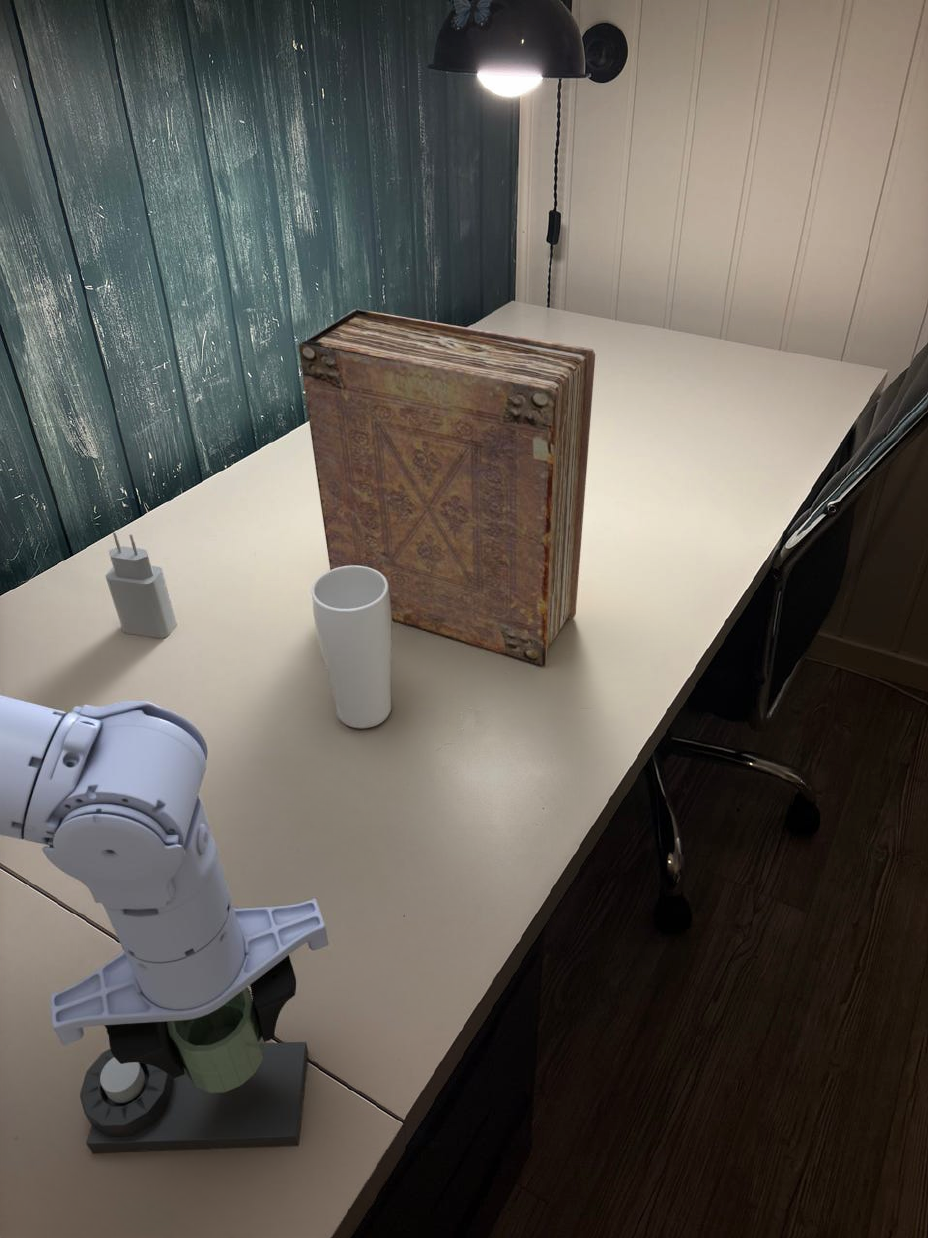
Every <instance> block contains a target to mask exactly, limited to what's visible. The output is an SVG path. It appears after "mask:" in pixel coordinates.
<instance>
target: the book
mask: <svg viewBox="0 0 928 1238" xmlns="http://www.w3.org/2000/svg"><path fill="white" fill-rule="evenodd" d="M298 349H299V350H298V351H299V352H298V353H299V358H300V365H301V372H302V378H303V379H302V380H303V387H304V393H305V394H304V395H305V401H306V406H307V407H306V409H307V416H308V421H309V429H310V436H311V444H312V451H313V456H314V457H313V459H314V465H315V473H316V479H317V486H318V494H319V499H320V506H321V507H320V509H321V514H322V515H321V516H322V522H323V529H324V536H325V544H326V550H327V558H328V563H329V564H328V565H329V570H332V569H335V568H338V567H342V566H352V565H357V566H365V567H369V568H372V569H375V570H377V571H379V572H380V573H381V574H382V575H383V576H384V577H385V578H386V580H387V582H388V588H389V595H390V602H391V613H392V622H397V623H400V624H402V625H406V626H410V627H412V628H416V629H419V630H422V631H425V632H428V633H432V634H434V635H438V636H441V637H444V638H446V639H451V640H453V641H457V642H460V643H463V644H465V645H469V646H473V647H475V648H479V649H482V650H485V651H487V652H492V653H493V654H494V653H495V654H497V655H501V656H504V657H507V658H510V659H513V660H516V661H520V662H523V663H526V664H529V665H533V666H535V667H538V668H544V667H545V666H546V665H547V663H548V648H549V647H550V645H551V644H552V643H553V641H554V639H555V638H556V637H557V635H558V633H559V631H560V630H561V629H562V627H563V626H564V624H565V622H566V621H567V620H568V619H573V618H574V617H576V614H577V602H578V591H579V577H580V576H579V575H580V563H581V551H582V549H581V548H582V536H583V523H584V512H585V511H584V510H585V509H584V508H585V498H586V497H585V496H586V485H587V483H586V482H587V471H588V458H589V446H590V445H589V444H590V431H591V417H592V405H593V392H594V379H595V364H596V353H595V351H594V348H589V347H582V346H576V345H571V344H565V343H559V342H552V341H549V340H541V339H535V338H530V337H524V336H518V335H512V334H506V333H500V332H494V331H488V330H482V329H476V328H471V327H465V326H458V325H454V324H453V325H452V324H447V323H442V322H435V321H429V320H423V319H417V318H412V317H406V316H400V315H394V314H387V313H382V312H376V311H370V310H364V309H359V308H355V309H353V310H351V311H350V312H348V313H347V314H345V315H343V316H342V317H340V318H339V319H337V320H336V321H334V322H333V323H331V324H329V325H328V326H326V327H324V328H323V329H322V330H320V331H318V332H317V333H315V334H313V335H312V336H310V337H309V338H307V339H306V340H304V341H302V342H301V343H300V344H298Z"/></svg>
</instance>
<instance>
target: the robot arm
mask: <svg viewBox="0 0 928 1238" xmlns="http://www.w3.org/2000/svg"><path fill="white" fill-rule="evenodd" d="M208 751H209V750H208V745H207V743H206V740H205V738H204V736H203V734H202V733H201V732H200V730H199V729H198V728H197V727H196V726H195V725H194V724H193V723H192V722H191V721H189V720H188V719H186V718H185V717H184V716H182V715H180V714H178V713H176V712H174V711H172V710H169V709H167V708H164V707H160V706H158V705H156V704H154V703H151V702H150V701H143V700H126V701H119V702H114V703H111V704H107V705H103V706H95V705H94V706H93V705H89V704H83V705H82V706H78V705H75V706H74V707H73V708H72V710H71V711H70V712H67V711H63V710H59V709H55V708H52V707H48V706H44V705H40V704H36V703H33V702H28V701H25V700H21V699H16V698H12V697H8V696H5V695H1V694H0V836H4V837H9V838H14V839H18V840H22V841H23V840H24V841H27V842H32V843H36V844H40V845H45V846H43V847H42V848H41V850H42V852H43V854H44V855H45V857H46V858H47V859H48V860H49V861H50V863H51V864H52V865H54V866H55V867H56V868H57V869H58V870H59V871H61V872H63V873H64V874H66V875H67V876H68V877H71V878H73V879H75V880H77V881H79V882H80V883H82V884H83V885H84V886H86V888H87V889H88V890H89V892H90V894H91V896H92V898H93V901H94V902H95V903H96V904H102V906H103V908H104V910H105V912H106V914H107V917H108V919H109V921H110V924H111V926H112V927H113V930H114V932H115V935H116V937H117V939H118V941H119V943H120V947H121V948H122V952H121V953H119V954H118V955H116V956H115V957H113V958H112V959H111V960H109V961H108V962H106V963H104V964H103V965H102V966H100V967H98V968H97V969H95V970H94V971H93V972H92V973H89V974H88V975H87V976H85V977H83V979H81V980H79V981H78V982H76V983H74V984H73V985H70V986H69V987H66V988H64V989H62V990H60V991H57V992H54V993H52V994H50V995H49V1004H50V1017H51V1028H52V1030H53V1031H54V1033H55V1035H56V1036H57V1039H58V1040H59V1042H60V1043H61V1045H62V1046H67V1045H70V1044H73V1043H75V1042H77V1041H80V1040H81V1039H83V1037H84V1036H85V1031H84V1028H88V1027H96V1026H97V1027H98V1026H99V1027H100V1026H104V1027H105V1029H106V1033H107V1036H108V1043H109V1049H111V1053H112V1054H113V1056H114V1057H115V1058H116V1060H117V1061H118V1062H119V1063H120V1064H124V1063H131V1062H138V1063H145V1064H149V1065H152V1066H155V1067H157V1068H159V1069H161V1070H163V1071H164V1072H166V1073H167V1074H169V1075H170V1076H171V1077H173V1078H177V1077H180V1076H182V1075H185V1072H184V1067H183V1065H182V1062H181V1060H180V1058H179V1056H178V1054H177V1051H176V1049H175V1047H174V1045H173V1042H172V1040H171V1038H170V1035H169V1032H168V1026H167V1021H179V1020H189V1019H195V1018H199V1017H202V1016H204V1015H207V1014H209V1013H211V1012H213V1011H215V1010H217V1009H218V1008H220V1007H221V1006H223V1005H224V1004H226V1003H227V1002H228V1001H229V1000H231V999H232V998H233V997H235V996H236V995H237V994H239V993H240V992H241V991H243V990H244V989H245V988H246V987H248V988H249V987H250V994H251V997H252V1000H253V1003H254V1007H255V1010H256V1014H257V1017H258V1021H259V1026H260V1030H261V1034H262V1038H263V1041H264V1042H265V1043H267V1042H269V1041H271V1040H274V1039H275V1038H276V1027H277V1023H278V1020H279V1016H280V1014H281V1011H282V1010H283V1008H284V1006H285V1005H286V1004H287V1003H288V1002H289V1000H291V999H292V998H293V997H295V995H296V991H297V978H296V974H295V971H294V968H293V964H292V961H291V957H290V955H291V954H292V953H294V952H295V951H296V950H298V949H300V947H302V946H304V945H305V944H307V945H308V949H310V950H311V951H316V950H320V949H322V948H325V947H327V946H329V943H330V942H329V938H328V934H327V933H328V932H327V927H326V923H325V921H324V918H323V915H322V912H321V910H320V907H319V904H318V902H317V901H318V900H317V899H316V898H313V899H310V900H307V901H304V902H300V903H296V904H288V905H280V906H279V905H278V906H277V905H276V906H263V907H245V908H235V907H234V904H233V900H232V897H231V894H230V890H229V886H228V883H227V880H226V876H225V873H224V870H223V866H222V863H221V860H220V856H219V853H218V849H217V845H216V843H215V840H214V837H213V836H214V835H213V834H212V831H211V828H210V824H209V821H208V819H207V813H206V811H205V807H204V804H203V801H202V799H201V797H200V796H199V794H200V792H201V791H200V790H201V787H202V784H203V779H204V777H205V772H206V769H207V760H208V754H209V753H208Z"/></svg>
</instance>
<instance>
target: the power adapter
mask: <svg viewBox="0 0 928 1238" xmlns="http://www.w3.org/2000/svg"><path fill="white" fill-rule="evenodd" d="M112 535H113V539H114V541H115V546H116V547H115V548H112V549H109V550H108V555H109V558H110V561H111V564H112V567H111V568H110V569H109V570H108V572H107V573H106V574H105V581H106V582H107V586H108V590H109V592H110V595H111V598H112V602H113V605H114V608H115V611H116V615H117V617H118V620H119V623H120V626H121V629H122V632H123V633H124V634H128V635H129V634H130V635H134V636H143V637H148V638H154V639H155V638H156V639H166V638H167V637H168V636H170V634H171V633H172V632H173V631H174V629H175V628H176V627H177V625H178V622H177V618H176V614H175V611H174V608H173V604H172V599H171V595H170V593H169V592H170V591H169V589H168V586H167V585H168V584H167V582H166V577H165V575H164V570H163V568H162V567H160V566H156V565H152V564H151V560H150V556H149V554H148V552H147V551H148V550H146V549H145V548H139V547H137V545H136V542H135V540H134V537H133V534H129V538H130V542H131V546H132V547H131V546H121V545H120V542H119V539H118V536H117V532H116V531H113V532H112Z"/></svg>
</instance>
